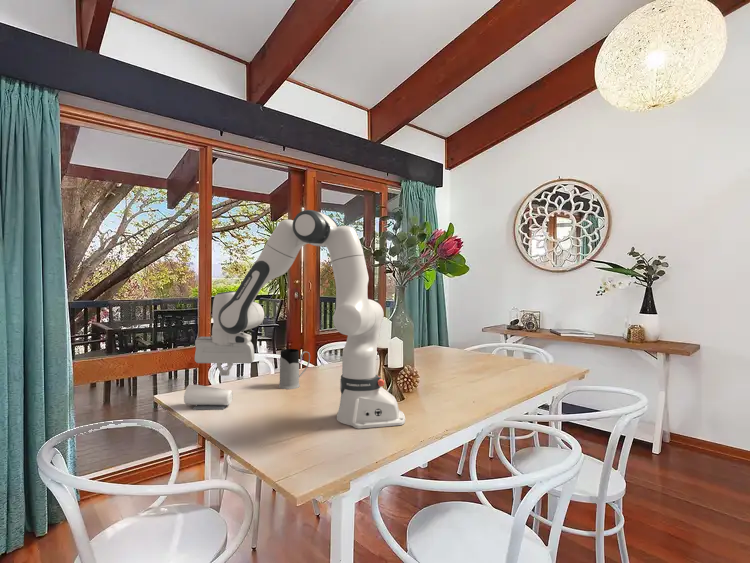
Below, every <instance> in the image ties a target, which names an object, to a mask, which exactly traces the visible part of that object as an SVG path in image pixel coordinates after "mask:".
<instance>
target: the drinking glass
mask: <svg viewBox="0 0 750 563" xmlns="http://www.w3.org/2000/svg"><path fill="white" fill-rule="evenodd" d="M233 394H234V393H233V391H232V389H225V388H219V387H218V388H217V387H213V386H208V385H202V384H200V385H199V384H188V385H187V386H186V388H185V391H184V394H183V402H184V404H186V405H192V406H196V405H226V407H227V406H230V405H231V404H232V400H233V397H234V396H233Z"/></svg>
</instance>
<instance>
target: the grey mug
mask: <svg viewBox="0 0 750 563" xmlns="http://www.w3.org/2000/svg"><path fill="white" fill-rule="evenodd" d="M305 353H307V354H308V362H307V365H306V366H305V368H304V370H303V371H301V372H300V363H302V360H303V355H304V354H305ZM299 357H300V358H299ZM310 361H311V354H310V352H308V351H305V350H304V351H302V352H301V355H300V350H299V349H295V348H285V349H281V350H280V358H279V385H278V388H279V389H281V390H295V389H298V388H300V387H301V386H300V378H301V377H302V375H303V374H304V373H305V372H306V371H307V369H308V367H309V365H310Z"/></svg>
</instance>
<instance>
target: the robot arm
mask: <svg viewBox="0 0 750 563" xmlns="http://www.w3.org/2000/svg"><path fill="white" fill-rule="evenodd" d="M306 245H311V246H315V247H321V248H327V250H328V252H329V253H328V254H329V257H330V262H331V267H332V272H333V273H332V274H333V277H334V282H335V291H336V293H335V310H334V313H333V317H332V322H333V325H334V327H335V330H336V331H338V332H339V333H340V334H341V335H345V336H347V337H346V343H345V345H344V347H343V349H342V362H341V363H342V365H341V366H342V368H341V376H340V379H339V380H340V381H339V382H340V384H339V385H340V386H339V389H340V401H339V406H338V407H339V408H338V411H337V414H336V420H337V421H338V422H339V423H341V424H344V425H348V426H351V427H353V428H355V429H358V430H361V429H368V428H371V429H372V428H384V427H391V426H392V427H393V426H402V425H404V424H405V423H406V416H405V414H404V412H403V411H402V410H400V409H399V404H398V401H397V399H396V397H395V396H394V395H393V394H391V393H390V392H389V391H388V390H386V389H385V388H383V386H384V385H385V381H384V379H382V377H381V376H380V375H377V353H378V352H377V349H378V344H379V339H380V333H381V326H382V322H383V320H384V317H385V316H384V314H385V313H384V309H383V307H382V306H381V304H380V303H379V302H377V301H375V300H373V299H370V298H369V297H368V286H369V282H370V280H369V279H370V278H369V273H368V269H367V268H368V267H367V265H366V264H367V263H366V258H365V254H364V251H363V250H364V249H363V246H362V243H361V241H360V238H359V235H358V233H357V231H356V230H355V228H354V227H352V226H349V225H339V224H338V223H337V222H336V220H334V219H333V218H332V217H330V216H328V215H326V214H325V213H323V212H320V211H318V210H317V211H316V210H314V209H305V210H302V211H300V212H299V213H298V214H296V215H295V217H294V218H293V220H292V219H283V220H281V221H280V222H279V223H278V225H277V226H276V227H275V229H274V230H273V232H272V233H271V234H270V236H269V237H268V240H267V241H266V243H265V245H264V247H263V249H262V251H261V253H260V255H259V256H258V257H257V259H256V261H255V262H254V264H253V265H252V266H251V267H250V269H249V271H248V272H247V273H246V275H245V277H244V278H243V280H242V281H241V282H240V285H239V286H238V288H237V289H236V291H235V290H233V291H232V290H231V291H225V292H219V293H217V294H215V296H214V298H213V301H212V309H211V310H212V321H213V323H212V324H213V325H212V328H211V336H199V337H197V338H196V339H195V340H194V346H195V353H194V361H195V362H196V364H216V368H217V369H218V371H219V376H222V377H223V376H224V377H225V376H226V377H227V376H230V372H231V371H230V370H231V369H232V367H233V365H234V364H252V363H253V362H254V360H255V348H254V344H253V342H251V341H252V335H251V334H249V333H245V332H244V331H248V330H251V329H254V328H256V327H259V326H260V325H261V324H263V322H264V320H265V316H266V315H265V309H264V308H263V306H262V305H261V304H260V303H258V302H255V299H256V297H257V296H258V294H259V293H260V291H261V290H262V288H263V287H264V286H265V285H266V284H268V283H269V282H271V281H272V280H274V279H276V278H279V277H282V276H283V275H285V274H286V273H287V272H288V271H289V270H290V268H291V267H292V266H293V264H294V262H295V260H296V258H297V256H298V254H299V252H300V250H301V249H302V247H303V246H306ZM223 364H227V365H226V367H227V369H224V368H223V367H222V365H223Z"/></svg>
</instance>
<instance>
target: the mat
mask: <svg viewBox="0 0 750 563" xmlns="http://www.w3.org/2000/svg"><path fill="white" fill-rule="evenodd" d="M226 407H227V406H226V405H194V407H193V408H192V409H193V411H202V410H203V411H205V410H207V411H208V410H209V411H211V410H215V411H216V410H218V411H220V410H223V411H224V410H225V408H226Z"/></svg>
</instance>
